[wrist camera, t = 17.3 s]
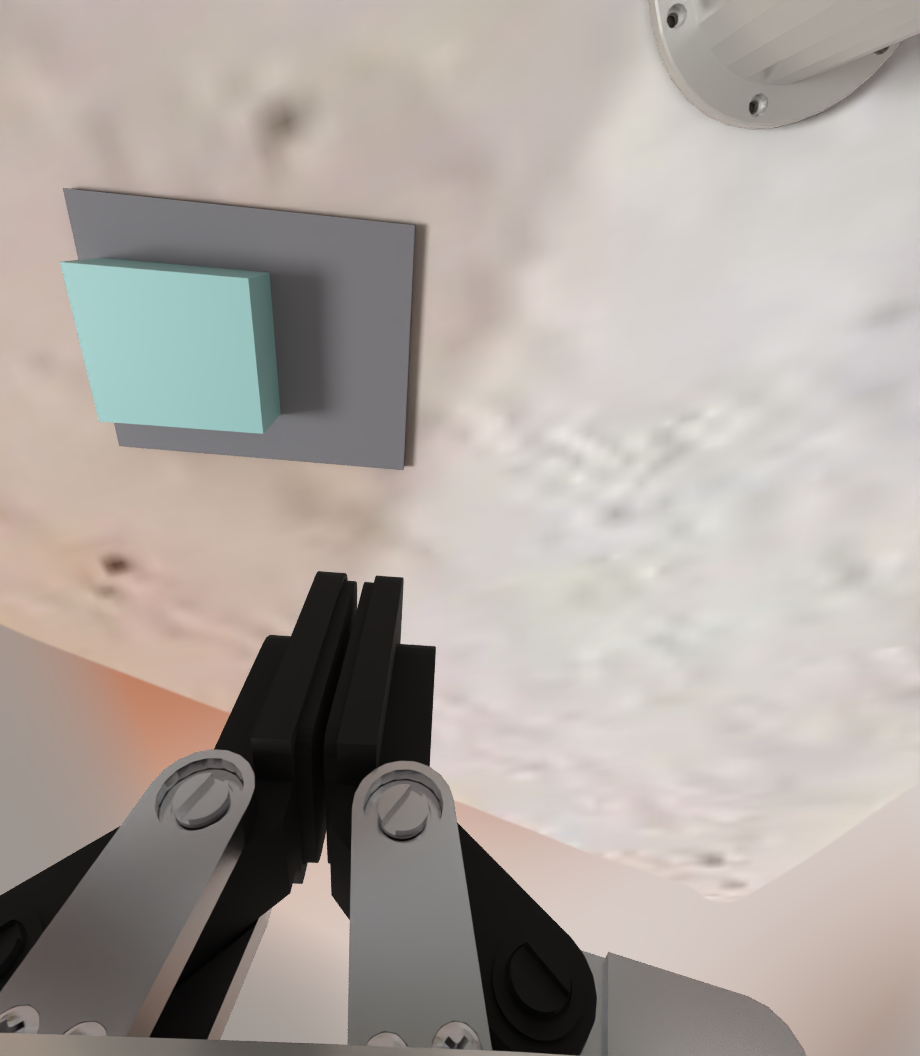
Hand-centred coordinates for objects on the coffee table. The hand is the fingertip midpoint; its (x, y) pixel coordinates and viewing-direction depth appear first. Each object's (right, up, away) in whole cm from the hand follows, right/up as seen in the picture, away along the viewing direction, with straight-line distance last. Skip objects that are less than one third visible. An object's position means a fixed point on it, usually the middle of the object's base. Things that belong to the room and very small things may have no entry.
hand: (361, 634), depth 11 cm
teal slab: (-9, +12, +19) cm, 24 cm away
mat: (-10, +13, +21) cm, 27 cm away
